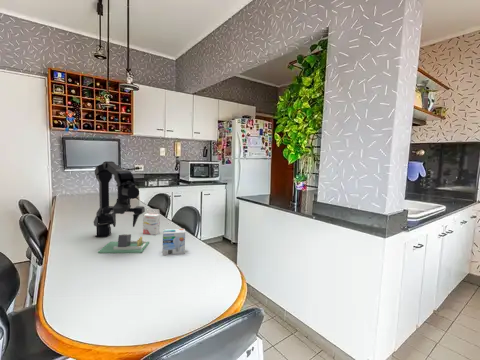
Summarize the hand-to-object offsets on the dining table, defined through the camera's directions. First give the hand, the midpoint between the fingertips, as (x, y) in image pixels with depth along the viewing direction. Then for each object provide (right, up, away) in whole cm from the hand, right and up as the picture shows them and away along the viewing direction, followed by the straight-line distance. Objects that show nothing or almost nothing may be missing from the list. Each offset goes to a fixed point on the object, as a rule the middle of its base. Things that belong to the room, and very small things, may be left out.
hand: (124, 226), depth 125 cm
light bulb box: (+26, -12, -2) cm, 28 cm away
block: (0, -10, -1) cm, 9 cm away
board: (0, -11, +1) cm, 11 cm away
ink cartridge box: (+5, -9, +26) cm, 27 cm away
